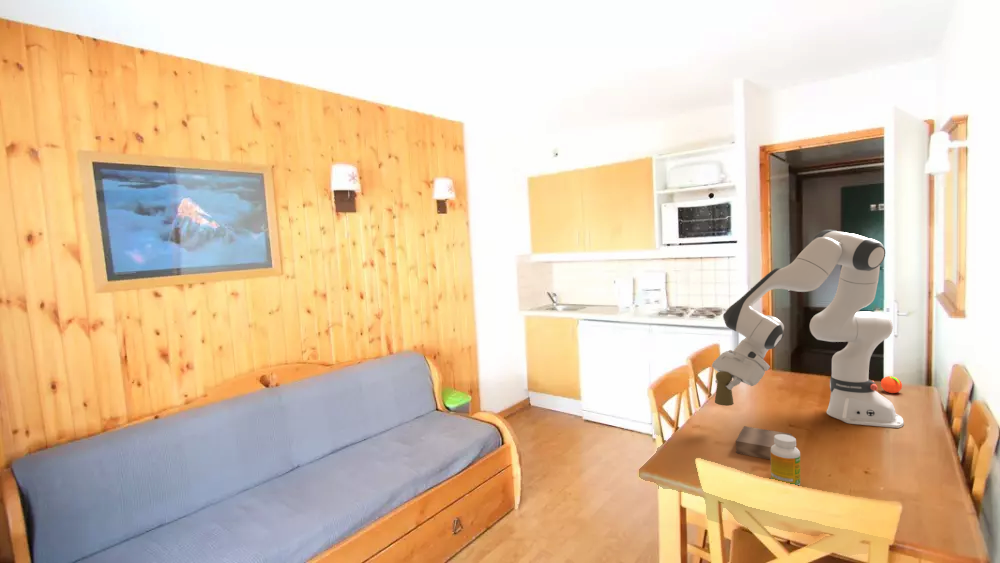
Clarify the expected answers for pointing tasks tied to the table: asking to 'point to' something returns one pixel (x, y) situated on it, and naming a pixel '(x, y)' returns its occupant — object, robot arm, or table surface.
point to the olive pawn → (723, 389)
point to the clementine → (891, 384)
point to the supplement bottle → (785, 459)
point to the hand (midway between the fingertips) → (722, 386)
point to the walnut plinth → (756, 442)
